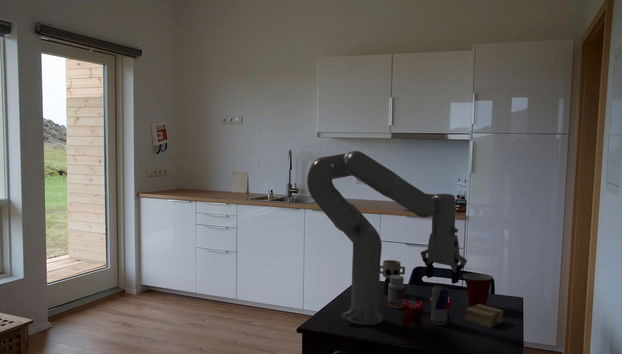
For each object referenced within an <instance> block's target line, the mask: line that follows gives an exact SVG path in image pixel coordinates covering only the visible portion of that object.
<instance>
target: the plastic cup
mask: <svg viewBox="0 0 622 354" xmlns="http://www.w3.org/2000/svg"><path fill="white" fill-rule="evenodd" d="M462 277H463V279H464V281H465V287H466V292H467V293H466V294H467V300H468V306H469V308H470V307H472V306H475V305H477V304H481V305H485V306H487V301H488V297H489V292H490V288H491V284H492V280H493V278H494V276H493V275H490V274H487V273H466V274H463V275H462Z"/></svg>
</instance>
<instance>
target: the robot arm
mask: <svg viewBox="0 0 622 354" xmlns="http://www.w3.org/2000/svg"><path fill="white" fill-rule="evenodd" d="M351 176H353V178H355V179H357V180H358V181H360V182H362V183H364V184H365V186H368V187H370V188H371V189H373V190H374V191H376V192H377V193H378V194H381V195H382V196H383V197H386V198H388V199H390V200H391V201H394V202H395V203H397V204H399V205H400V206H402V207H404V209H406V210H407V211H409V212H411V213H413V214H414V215H416V216H418V217H419V218H425V219H426V218H429V217H431V233H430V234H429V238H428V244H427V249H425V250H422V251H420V256H421V258H422V259H421V260H422V262H423V263H424V266H425V267H426V278H427V279H431V278H434V276H435V275H434V273H435V271H434V270H435V267H434V265H433V264H434V263H435V264H440V265H444V266H450V268H451V270H452V271H451V284H454V285H455V284H458V283H459V281H460V272H461V271H462V269H465V266H466V264H467V262H468V260H467V259H466V258H465V257H463V256H462V255H461V253H460V243H459V238H458V235H457V233H458V232H459V229H458V228H457V227H456V197H455V196H454V194H452V193H451V194H450V193H425V192H424V191H422V190H420V189H419V188H417V187H416V186H415V185H413V184H411V183H410V182H408V181H406V180H405V179H404V178H402V177H401V176H400V175H398V174H397V173H395V172H394V171H392V170H391V169H390V168H387V167H386V166H384V165H383V164H381V163H379V162H378V161H376V160H375V159H373V158H371V157H370V156H369V155H367V154H365V153H364V152H361V151H359V150H353V151H348V152H345V153H339V154H333V155H329V156H321V157H318V158H316V159H315V160H314V161H313V162H312V164H311V166H310V167H309V170H308V173H307V179H306V184H307V185H306V186H307V189H308V192H309V195H310V196H311V198H312V199H313V201H314V202H315V203H316V205H317V206H318V207H319V208H320V209H321V211H322V212H323V213H324V215H326V217H327V218H328V219H329V220H330V222H332V223H333V225H334V226H335V228H336V229H338V230H339V231H341V232H343V234H344V235H345V236H346V237H347V238H348V239H349V240H350V241H351V243H352V260H351V261H352V264H351V265H352V266H351V294H350V295H351V297H350V298H351V299H350V300H351V301H350V306H349V307H348V310H347V311H344V312H342V313H341V318H342V319H346V320H347V321H349V322H350V323H353V324H356V325H361V326H374V325H375V326H376V325H379V324H380V323H383V321H384V316H383V315H382V314H381V313H379V312H380V311H379V309H380V285H381V284H380V281H381V274H380V266H381V258H382V249H383V248H382V247H383V245H382V238H381V235H380V233H379V232H378V231H377V229H376V227H374V226H373V224H371V222H370V221H369V220H368V218H366V217H365V215H364V214H363V213H362V212H361V211H360V210H359V209H358V208H357V207H356V206H355V205H354V204H353V203H351V202H348V201H347V199H345V197H344V196H343V195H342V193H341V192H340V191H339V190H338V189H337V188H336V187H335V185H334V183H333V180H335V179H341V178H347V177H351Z"/></svg>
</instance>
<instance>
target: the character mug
mask: <svg viewBox="0 0 622 354" xmlns="http://www.w3.org/2000/svg"><path fill="white" fill-rule="evenodd" d="M381 269H382V271H381ZM401 270H402V271H401ZM381 274H382V276H383V278H384V283H383V289H382V290H383V293H385V294H388V285H389V283H390V276H391V275H400V276H403V275H405V274H406V267H405V266H401V262H400V261H399V260H395V259H386V260H383V262H382V265H380V275H381Z"/></svg>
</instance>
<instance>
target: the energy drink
mask: <svg viewBox="0 0 622 354" xmlns="http://www.w3.org/2000/svg"><path fill="white" fill-rule="evenodd" d="M431 292H432V293H431V311H430V315H431V316H430V321H431V323H432V324H433V325H438V326H444V325H447V324H448V308H449V288H448V287H445V286H444V285H443V286H441V285H436V286H433V287H432V289H431Z"/></svg>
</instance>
